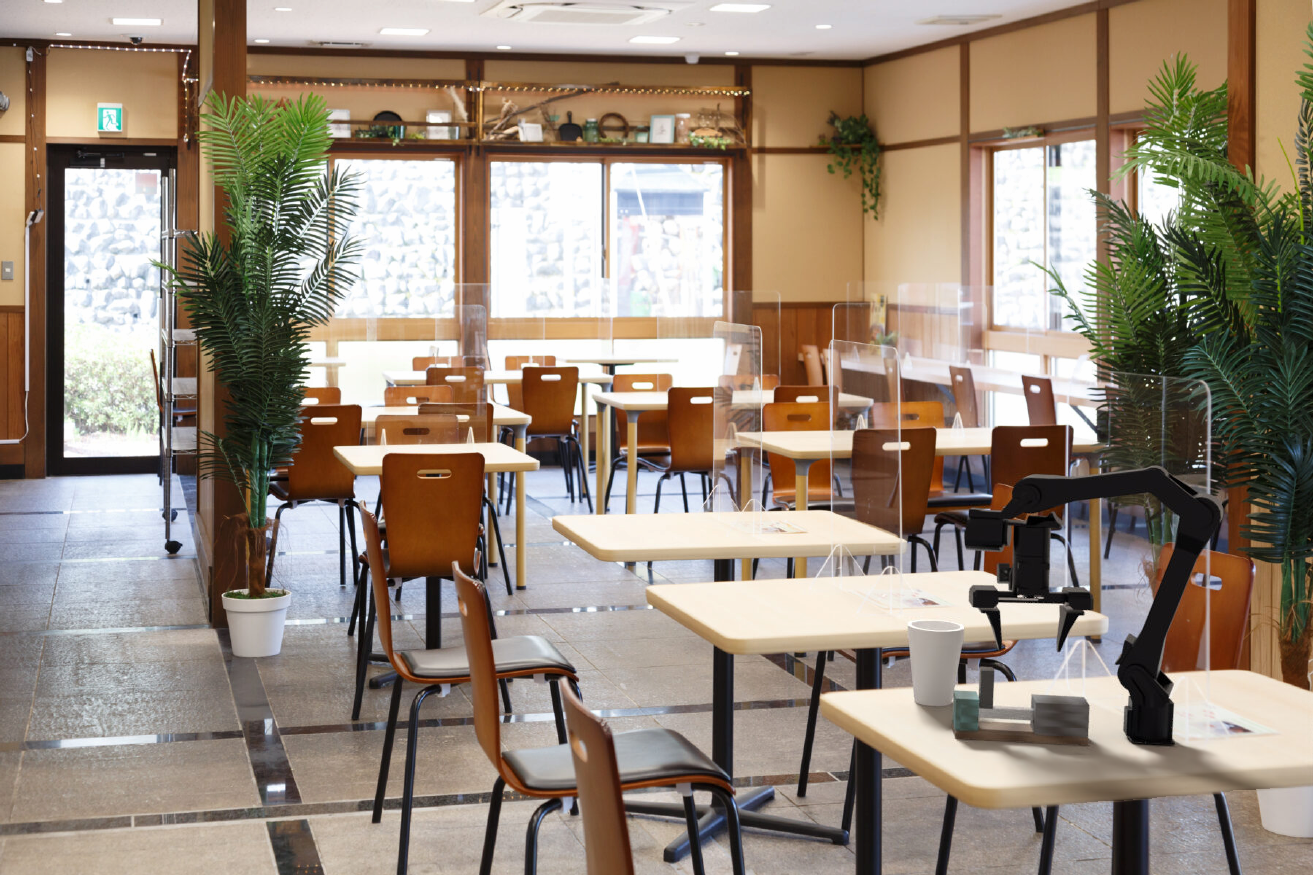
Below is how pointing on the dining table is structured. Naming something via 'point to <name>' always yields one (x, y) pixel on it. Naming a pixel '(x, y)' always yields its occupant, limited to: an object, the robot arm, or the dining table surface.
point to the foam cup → (934, 659)
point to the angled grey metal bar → (987, 701)
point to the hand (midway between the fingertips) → (1028, 650)
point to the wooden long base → (1051, 723)
